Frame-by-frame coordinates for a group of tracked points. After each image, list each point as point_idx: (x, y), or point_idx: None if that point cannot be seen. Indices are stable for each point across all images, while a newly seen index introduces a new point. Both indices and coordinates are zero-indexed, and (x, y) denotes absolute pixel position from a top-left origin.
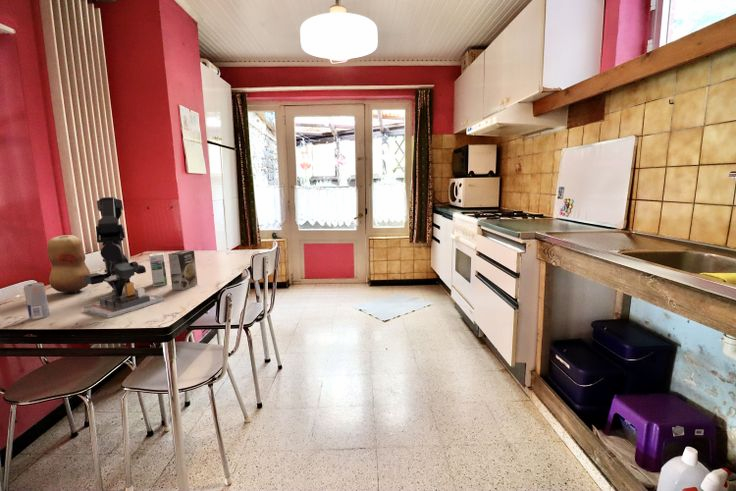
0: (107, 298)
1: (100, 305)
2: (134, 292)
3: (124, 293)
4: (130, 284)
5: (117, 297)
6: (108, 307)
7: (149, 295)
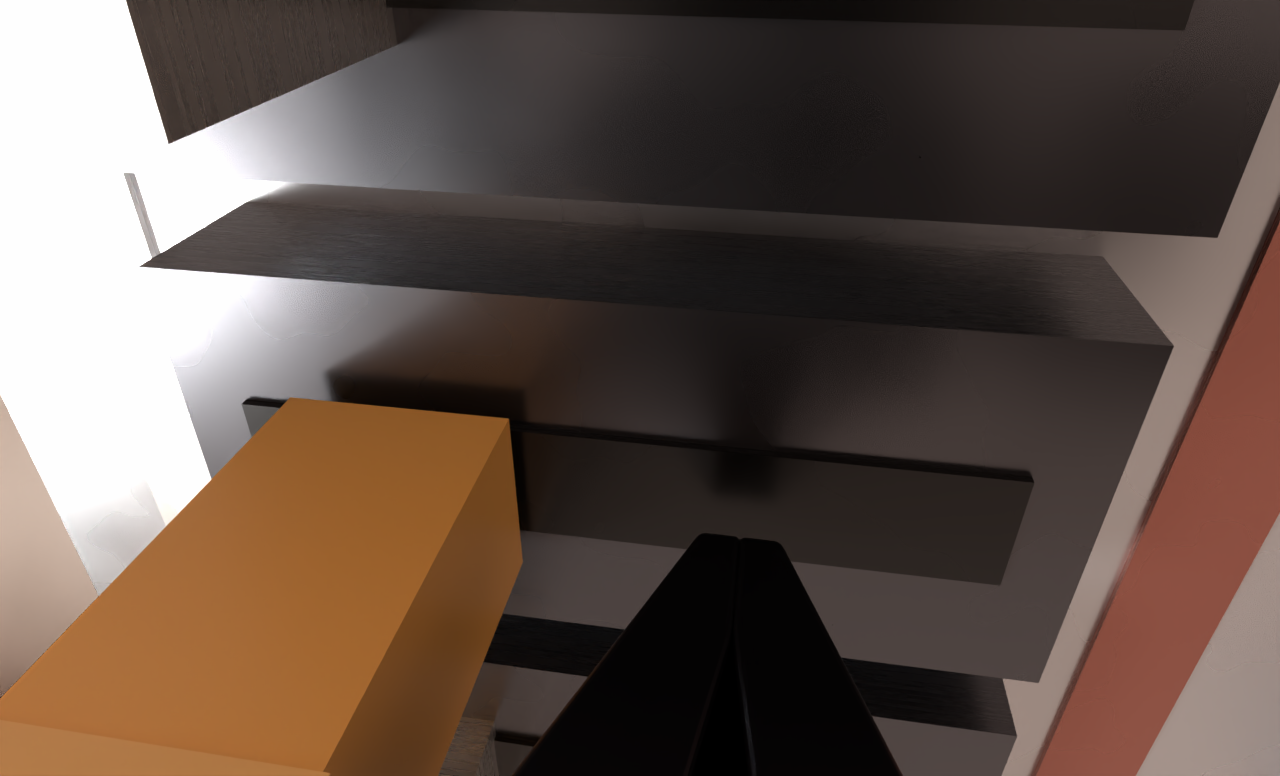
0: (900, 761)
1: (1051, 678)
2: (261, 430)
3: None
4: (100, 767)
5: None
6: (1165, 378)
7: (11, 284)
